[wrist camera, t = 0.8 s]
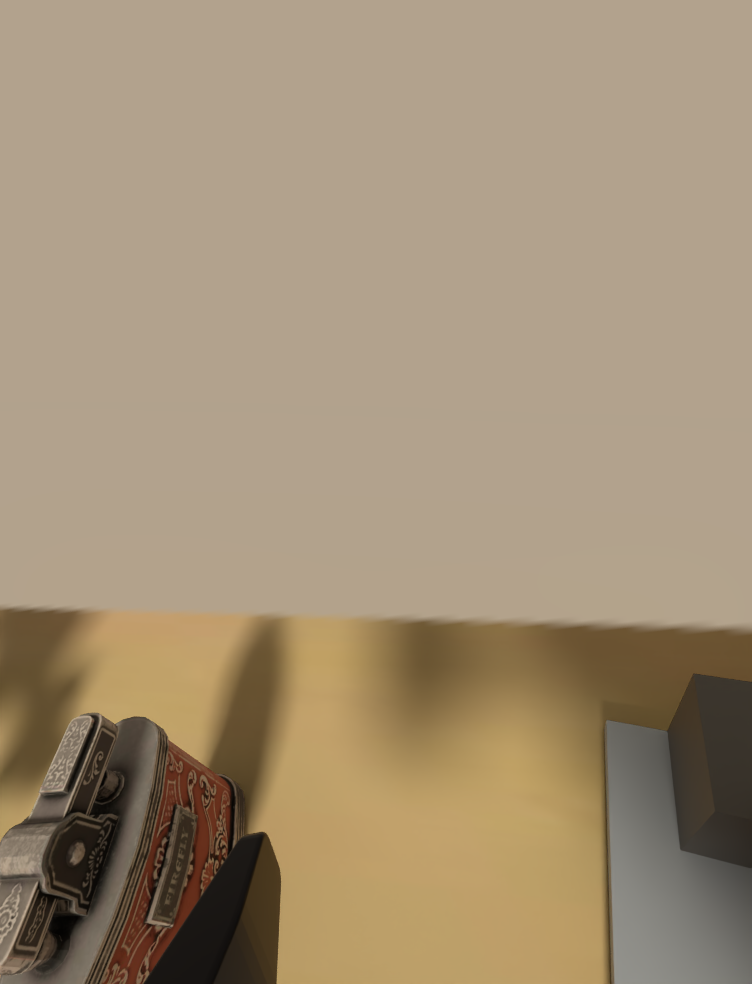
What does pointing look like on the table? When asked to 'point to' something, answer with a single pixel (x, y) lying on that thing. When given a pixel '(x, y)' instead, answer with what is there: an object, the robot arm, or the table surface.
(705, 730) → the grey stand
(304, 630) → the table surface
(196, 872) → the lighter
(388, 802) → the table surface
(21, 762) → the table surface
